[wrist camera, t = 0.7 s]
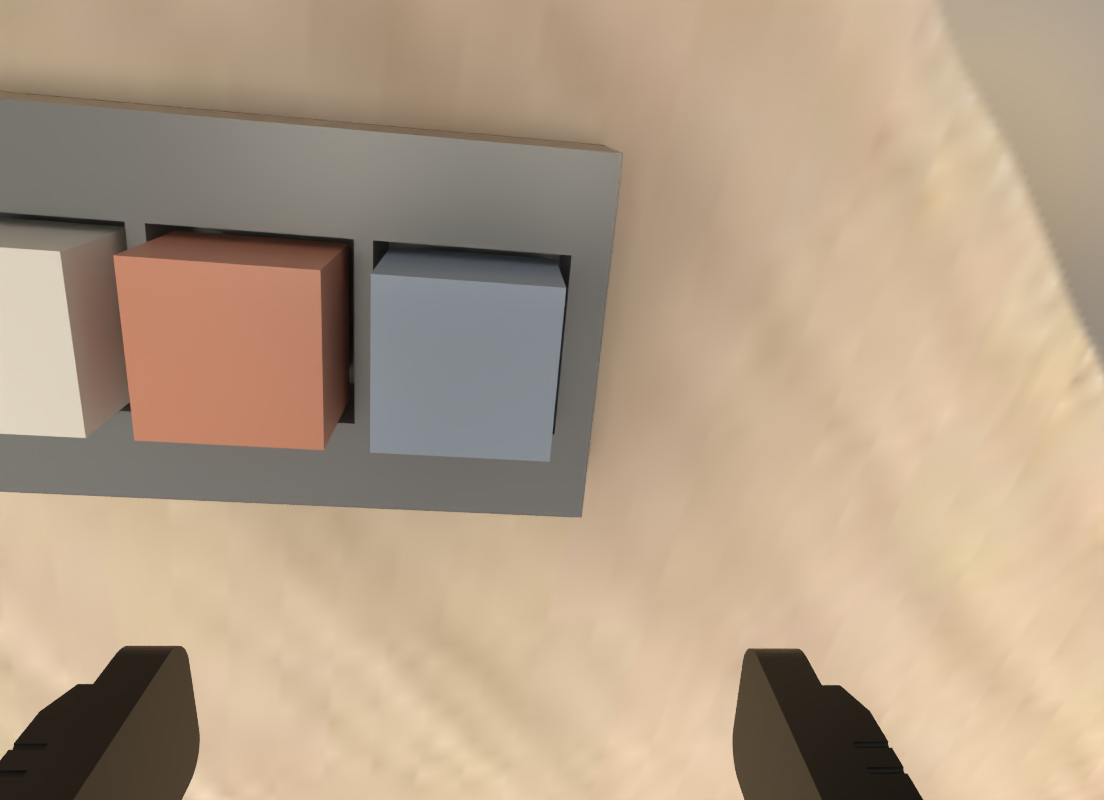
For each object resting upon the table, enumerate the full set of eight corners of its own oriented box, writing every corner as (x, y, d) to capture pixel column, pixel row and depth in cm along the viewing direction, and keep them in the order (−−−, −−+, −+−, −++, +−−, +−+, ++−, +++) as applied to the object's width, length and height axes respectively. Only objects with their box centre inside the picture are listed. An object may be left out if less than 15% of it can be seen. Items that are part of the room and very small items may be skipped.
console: (8, 430, 31) (-78, 488, 27) (-53, 86, 27) (-170, 83, 22) (570, 459, 33) (581, 517, 29) (602, 144, 29) (622, 153, 24)
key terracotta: (188, 389, 27) (134, 440, 23) (175, 230, 25) (112, 255, 21) (349, 399, 28) (324, 450, 24) (348, 243, 26) (320, 270, 22)
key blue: (388, 401, 28) (370, 452, 24) (390, 246, 26) (370, 274, 22) (542, 410, 29) (549, 461, 24) (555, 259, 27) (566, 287, 22)
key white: (-21, 378, 27) (-115, 427, 23) (-52, 213, 25) (-161, 235, 21) (147, 387, 27) (85, 437, 23) (130, 227, 25) (60, 251, 21)
